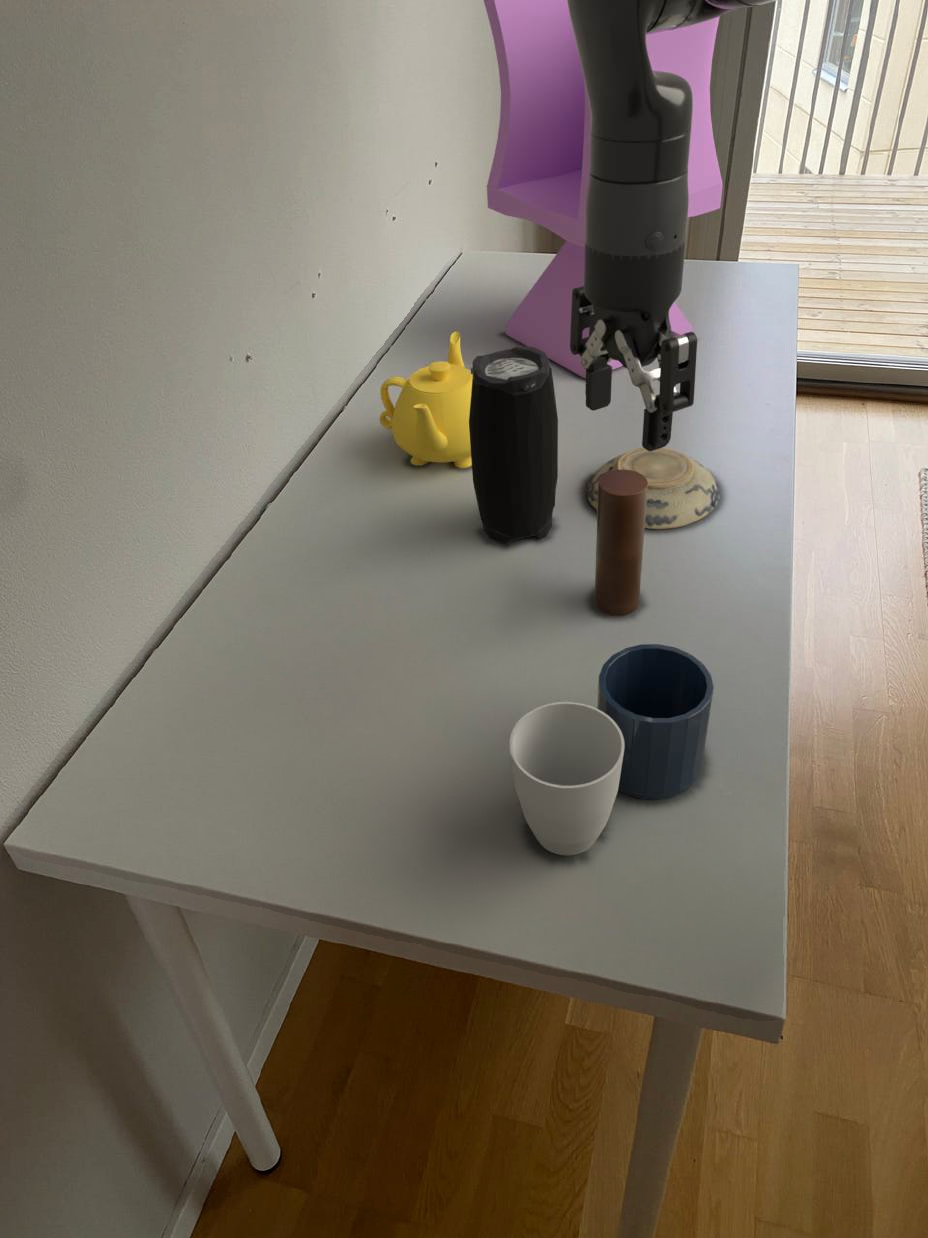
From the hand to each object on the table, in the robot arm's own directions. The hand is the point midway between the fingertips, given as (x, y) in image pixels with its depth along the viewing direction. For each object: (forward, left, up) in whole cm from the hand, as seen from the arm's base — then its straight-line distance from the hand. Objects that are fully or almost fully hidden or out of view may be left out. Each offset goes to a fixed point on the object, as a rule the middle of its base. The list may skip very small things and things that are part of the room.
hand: (625, 426), depth 81 cm
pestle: (0, 0, -20) cm, 20 cm away
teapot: (+34, -13, -20) cm, 41 cm away
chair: (+35, -51, -20) cm, 65 cm away
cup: (-11, +26, -20) cm, 35 cm away
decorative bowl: (+7, -19, -20) cm, 28 cm away
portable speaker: (+16, -5, -20) cm, 26 cm away
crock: (-13, +16, -20) cm, 28 cm away
